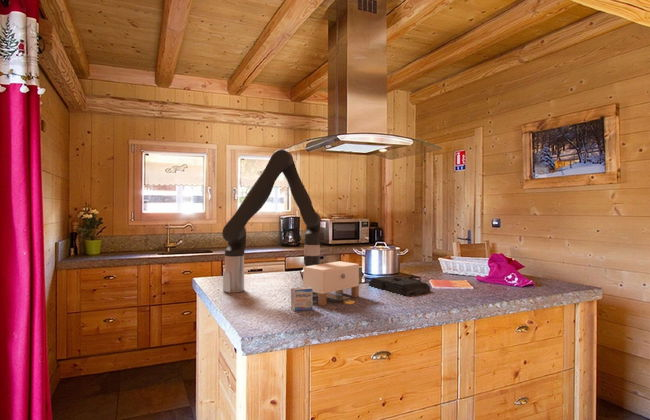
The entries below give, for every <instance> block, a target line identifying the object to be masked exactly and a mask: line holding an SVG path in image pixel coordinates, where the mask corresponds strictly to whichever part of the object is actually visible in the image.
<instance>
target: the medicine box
mask: <svg viewBox="0 0 650 420" xmlns="http://www.w3.org/2000/svg"><path fill="white" fill-rule="evenodd" d="M313 304H314V303H313V289H312V288H310V287H303V286H302V287H293V288H290V310H292V311H293V312H303V311H304V312H305V311H312V310H313Z"/></svg>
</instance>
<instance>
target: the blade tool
mask: <svg viewBox="0 0 650 420" xmlns="http://www.w3.org/2000/svg"><path fill="white" fill-rule="evenodd" d="M313 297H314V298H317V299H318V293H316V292H313ZM343 300H351V297H349V296H344V295H340V294H337V293H333V292H329V293H326V301H329V302H335V303H337V302H338V303H337V304H341V302H342V303H343Z"/></svg>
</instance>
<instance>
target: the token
mask: <svg viewBox="0 0 650 420" xmlns="http://www.w3.org/2000/svg"><path fill="white" fill-rule="evenodd" d="M342 304H343V305H353V304H355V300H354V299H350V300H343V302H342Z"/></svg>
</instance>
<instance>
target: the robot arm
mask: <svg viewBox="0 0 650 420" xmlns="http://www.w3.org/2000/svg"><path fill="white" fill-rule="evenodd" d="M295 163H296V162H295V160H294V156H293V155H292V153H291V152H289V151H288V150H286V149H282V148H279V149H277V150H275V151H274V152H273V153H272V154H271V156H270V159H269V160H268V161H267V164H266V166H265V168H264V169H263V171H262V173H260V175H259V177H258V178H257V180H256V181H255V183H254V184H253V185H252V186H251V188H250V190H249V191H248V192H247V194H246V196H245V198H244V199H243V201H241V203H240V205H239V206H238V209H237V210H236V211H235V213H234V215H232V217H231V218H230V219H229V220H228V222H226V224H225V225H224V227H223V228H222V237H223V239H224V240H225V241H226V242H227V246H226V248H225V249H224V270H223V271H222V292H226V293H229V294H230V293H231V294H232V293H242V292H244V290H245V250H246V246H247V245H246V243H247V229H246V225H247V223H248V222H249V221H250V220H251V219H252V217H254V216H255V215H256V214H257V213H258V212H259V211H260V210H261V209H262V208H263V206H264V205H265V204H266V202H267V200H268V199H269V197H270V195H271V193H272V191H273V188H274V186H275V183H276V181H277V179H278V178H279V177H280V175H281V174H283V175H284V177H285V180H286V181H287V183H288V185H289V186H288V187H289V189H290V193H291V196H292V198H293V200H294V203H295V204H296V206H297V208H298V211H299V213H300V215H301V219H302V221H303V223H304V224H305V226H306V227H305V228H306V229H305V234H304V247H303V264H304V267H305V266H312V265H318V264H321V247H320V231H321V230H320V229H321V216H320V214H319V212H317V211H316V210H315V208H314V206H313V202H312V200H311V197H310V195H309V193H308V191H307V190H306V187H305V186H304V184H303V182H302V180H301V178H300V175H299V173H298V170H297V167H296V165H295ZM299 274H300V277H301V281H303V270H300V271H299Z"/></svg>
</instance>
